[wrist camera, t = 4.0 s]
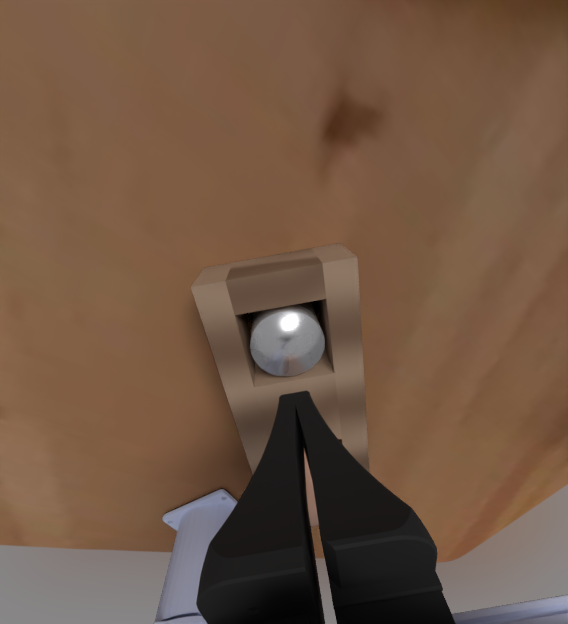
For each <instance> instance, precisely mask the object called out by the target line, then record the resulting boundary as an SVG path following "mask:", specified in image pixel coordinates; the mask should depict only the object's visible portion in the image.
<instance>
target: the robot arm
mask: <svg viewBox="0 0 568 624" xmlns="http://www.w3.org/2000/svg"><path fill="white" fill-rule="evenodd" d="M304 450H305V454H306V458H307V462H308V466H309V470H310V474H311V478H312V482H313V489H314V495H315V502H316V509H317V515H318V522H319V529H320V536H321V541H322V546H323V551H324V556H325V561H326V566H327V571H328V576H329V582H330V588H331V594H332V601H333V606H334V610H335V615H336V620H337V624H568V595H562V596H556V597H550V598H545V599H538V600H533V601H527V602H520V603H515V604H509V605H502V606H496V607H491V608H485V609H479V610H472V611H466V612H461V613H455V614H451V612H450V609H449V607H448V605H447V603H446V600H445V598H444V596H443V593H442V590H443V588H442V585H441V583H440V580H439V578H438V576H437V574H436V572H435V568H436V561H437V548H436V546H435V544H434V541H433V540H432V538H431V536H430V534H429V533H428V531H427V529H426V528H425V526H424V525H423V523H422V522H421V520H420V519H419V517H418V516H417V515H416V513H415V512H414V510H413V509H412V508H411V507H410V506H408V505H407V504H406V503H404V502H403V501H402V500H401V499H399V498H398V497H397V496H396V495H394V494H393V493H392V492H391V491H389V490H388V489H387V488H386V487H385V486H383V485H382V484H381V483H380V482H379V481H378V480H377V479H376V478H374V477H373V476H372V475H371V474H370V473H369V472H368V471H367V470H366V469H365V468H364V467H363V466H362V465H361V464H360V463H359V462H358V461H357V460H356V459H355V458H354V457H353V456H352V455H351V454H350V453H349V451H348V450H347V449H346V448H345V447H344V446H343V445H342V443H341V442H340V441H339V440H338V438H337V437H336V436H335V435H334V433H333V432H332V431H331V429H330V428H329V426H328V425H327V424H326V422H325V421H324V419H323V418H322V416H321V414H320V413H319V411H318V409H317V408H316V406H315V404H314V402H313V400H312V398H311V395H310V392H309V391H307V390H306V391H301V392H295V393H289V394H284V395H281V396H280V397H279V403H278V409H277V413H276V417H275V421H274V424H273V428H272V431H271V434H270V437H269V440H268V442H267V445H266V448H265V450H264V453H263V455H262V457H261V460H260V462H259V464H258V466H257V468H256V470H255V472H254V474H253V476H252V478H251V480H250V482H249V484H248V486H247V488H246V489H245V491H244V493H243V494H242V496H241V498H240V499H239V501H238V502H237V501H236V500H235V499H234V498H233V497H232V496H231V495H230V494H229V493H228V492H227V491H225V490H224V489H220V490H218V491H215V492H213V493H211V494H209V495H206V496H204V497H202V498H200V499H197V500H195V501H193V502H191V503H188V504H186V505H184V506H182V507H180V508H177V509H175V510H173V511H171V512H168V513H166V514H164V516H163V521H164V522H165V523H167V524H168V525H170V526H171V527H172V528H174V529H175V530H176V531H177V535H176V539H175V543H174V547H173V551H172V555H171V559H170V563H169V567H168V571H167V575H166V579H165V583H164V587H163V591H162V595H161V599H160V603H159V607H158V611H157V615H156V619H155V622H154V624H325V620H324V613H323V607H322V600H321V594H320V587H319V581H318V573H317V567H316V560H315V553H314V546H313V539H312V533H311V526H310V519H309V512H308V504H307V492H306V476H305V460H304Z"/></svg>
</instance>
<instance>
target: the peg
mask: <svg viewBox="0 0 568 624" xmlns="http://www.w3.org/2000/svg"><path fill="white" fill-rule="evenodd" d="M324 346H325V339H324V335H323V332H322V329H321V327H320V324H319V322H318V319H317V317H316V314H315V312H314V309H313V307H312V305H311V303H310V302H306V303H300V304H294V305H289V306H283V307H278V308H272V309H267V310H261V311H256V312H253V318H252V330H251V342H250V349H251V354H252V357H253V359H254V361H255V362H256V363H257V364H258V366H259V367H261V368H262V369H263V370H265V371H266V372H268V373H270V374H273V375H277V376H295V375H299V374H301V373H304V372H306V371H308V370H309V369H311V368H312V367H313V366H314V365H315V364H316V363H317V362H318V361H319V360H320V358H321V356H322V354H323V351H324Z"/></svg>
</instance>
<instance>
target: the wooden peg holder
mask: <svg viewBox="0 0 568 624" xmlns="http://www.w3.org/2000/svg"><path fill="white" fill-rule="evenodd" d="M191 289H192V292H193V295H194V299H195V302H196V305H197V308H198V311H199V314H200V317H201V320H202V323H203V326H204V329H205V332H206V335H207V338H208V341H209V344H210V347H211V350H212V353H213V356H214V359H215V362H216V365H217V368H218V371H219V374H220V377H221V380H222V383H223V386H224V389H225V393H226V396H227V399H228V402H229V405H230V408H231V411H232V414H233V417H234V420H235V423H236V426H237V429H238V432H239V435H240V438H241V441H242V444H243V447H244V450H245V453H246V456H247V459H248V462H249V465H250V468H251V471H252V474H254V472H255V470H256V468H257V466H258V464H259V462H260V460H261V457H262V455H263V453H264V450H265V448H266V445H267V442H268V440H269V437H270V434H271V431H272V428H273V424H274V421H275V417H276V413H277V409H278V403H279V397H280V396H281V395H284V394H289V393H295V392H301V391H306V390H307V391H309V392H310V395H311V398H312V400H313V402H314V404H315V406H316V408H317V409H318V411H319V413H320V414H321V416H322V418H323V419H324V421H325V422H326V424H327V425H328V426H329V428H330V429H331V431H332V432H333V433H334V435H335V436H336V437H337V438H338V440H339V441H340V442H341V443H342V445H343V446H344V447H345V448H346V449H347V450H348V451H349V453H350V454H351V455H352V456H353V457H354V458H355V459H356V460H357V461H358V462H359V463H360V464H361V465H362V466H363V467H364V468H365V469H366V470H367V471H368V472H369V457H368V439H367V421H366V403H365V385H364V367H363V349H362V331H361V313H360V296H359V278H358V260H357V256H355V255H354V254H353V253H352V252H350V251H349V250H348V249H347V248H345V247H344V246H343V245H341V244H340V243H339V244H333V245H328V246H322V247H317V248H311V249H306V250H300V251H295V252H289V253H284V254H278V255H273V256H267V257H262V258H256V259H251V260H245V261H240V262H234V263H229V264H223V265H218V266H212V267H207V268H204V269H203V271H202V272H201V274H200V275H199V276H198V278H197V279H196V281H195V282H194V283H193V285H192V286H191ZM317 300H318V304H319V312H320V320H321V328H322V332H323V335H324V339H325V346H324V351H323V354H322V356H321V358H320V360H319V361H318V362H317V363H316V364H315V365H314V366H313V367H312V368H311V369H309V370H308V371H306V372H304V373H301V374H299V375H295V376H277V375H273V374H270V373H268V372H266V371H265V370H263V369H262V368H261V367H259V366H258V364H257V363H256V362H255V361H254V359H253V357H252V354H251V349H250V342H251V334H250V330H249V326H248V322H247V318H246V314H245V313H250V312H256V311H261V310H267V309H272V308H278V307H283V306H289V305H294V304H300V303H306V302H311V301H317Z"/></svg>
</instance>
